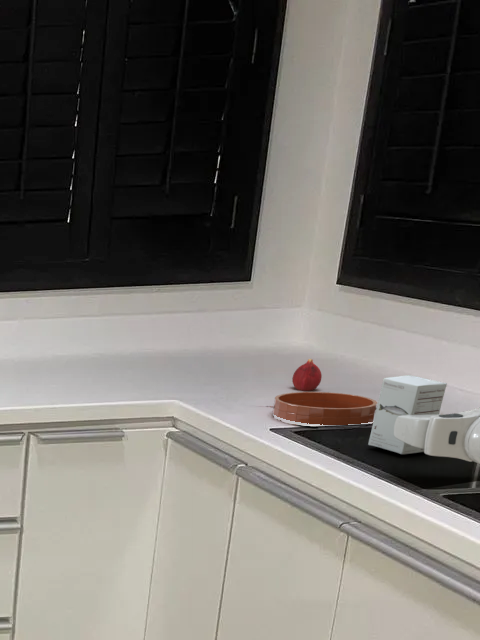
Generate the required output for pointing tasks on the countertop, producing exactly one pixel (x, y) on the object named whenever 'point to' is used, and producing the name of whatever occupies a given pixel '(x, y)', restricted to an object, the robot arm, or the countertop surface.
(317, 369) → the onion
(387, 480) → the countertop surface
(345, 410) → the bowl
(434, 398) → the white packaging box
